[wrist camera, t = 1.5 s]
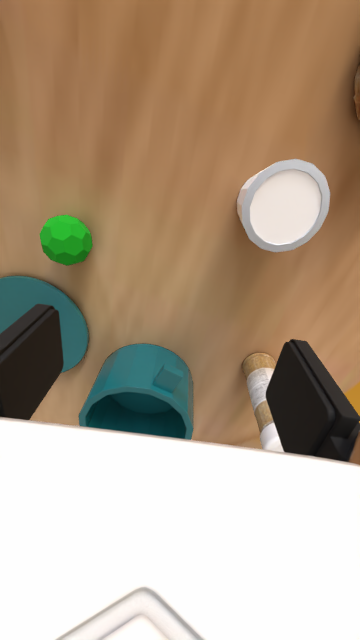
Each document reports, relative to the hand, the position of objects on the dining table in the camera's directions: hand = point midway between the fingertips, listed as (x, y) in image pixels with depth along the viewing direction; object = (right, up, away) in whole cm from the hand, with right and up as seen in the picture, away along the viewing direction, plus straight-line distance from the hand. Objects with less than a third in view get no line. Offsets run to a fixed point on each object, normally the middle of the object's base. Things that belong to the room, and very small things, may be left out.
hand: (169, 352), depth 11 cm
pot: (-5, -8, +28) cm, 30 cm away
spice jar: (+11, -5, +26) cm, 29 cm away
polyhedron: (-11, +11, +19) cm, 24 cm away
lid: (-19, 0, +24) cm, 30 cm away
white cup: (+9, +13, +16) cm, 23 cm away
